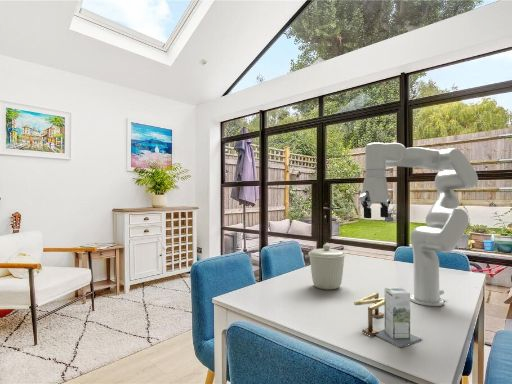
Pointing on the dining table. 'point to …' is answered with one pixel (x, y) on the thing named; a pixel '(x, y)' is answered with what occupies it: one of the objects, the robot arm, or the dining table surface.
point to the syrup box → (397, 313)
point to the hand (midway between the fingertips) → (376, 217)
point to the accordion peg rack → (371, 313)
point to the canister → (327, 267)
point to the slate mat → (397, 342)
